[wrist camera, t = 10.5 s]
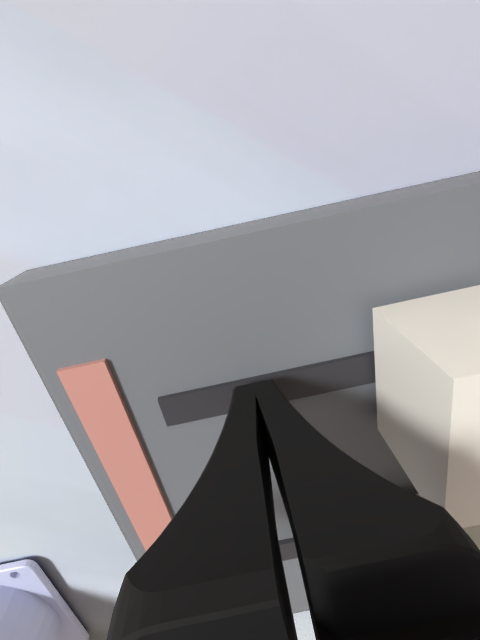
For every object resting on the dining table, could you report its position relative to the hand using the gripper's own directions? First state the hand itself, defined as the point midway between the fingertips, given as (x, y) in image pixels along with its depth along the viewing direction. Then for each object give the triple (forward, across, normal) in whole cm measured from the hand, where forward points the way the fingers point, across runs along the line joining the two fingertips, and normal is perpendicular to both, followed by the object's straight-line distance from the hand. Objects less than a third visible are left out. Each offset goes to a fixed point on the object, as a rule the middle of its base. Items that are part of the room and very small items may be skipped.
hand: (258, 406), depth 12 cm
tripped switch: (0, -6, 0) cm, 6 cm away
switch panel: (+3, -2, +4) cm, 6 cm away
